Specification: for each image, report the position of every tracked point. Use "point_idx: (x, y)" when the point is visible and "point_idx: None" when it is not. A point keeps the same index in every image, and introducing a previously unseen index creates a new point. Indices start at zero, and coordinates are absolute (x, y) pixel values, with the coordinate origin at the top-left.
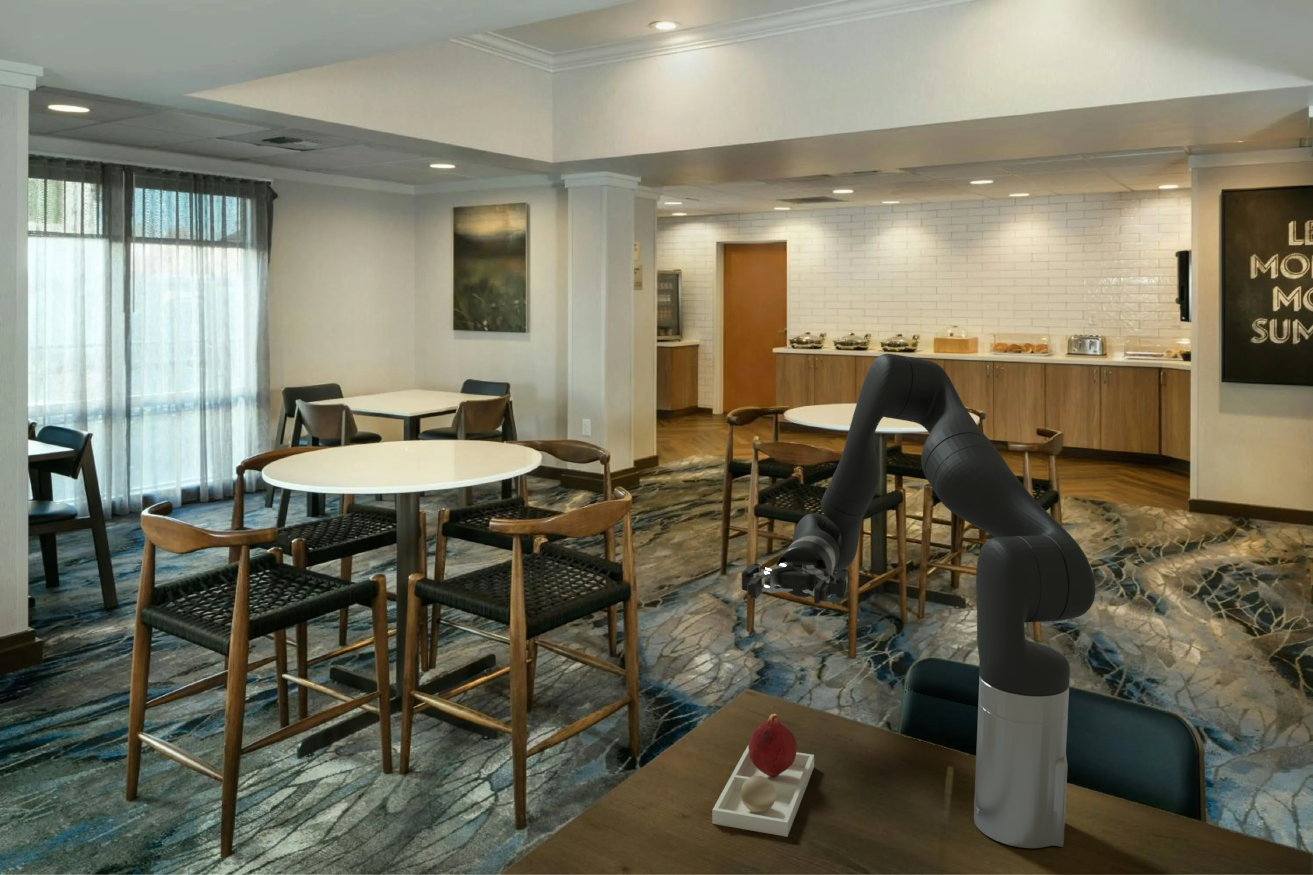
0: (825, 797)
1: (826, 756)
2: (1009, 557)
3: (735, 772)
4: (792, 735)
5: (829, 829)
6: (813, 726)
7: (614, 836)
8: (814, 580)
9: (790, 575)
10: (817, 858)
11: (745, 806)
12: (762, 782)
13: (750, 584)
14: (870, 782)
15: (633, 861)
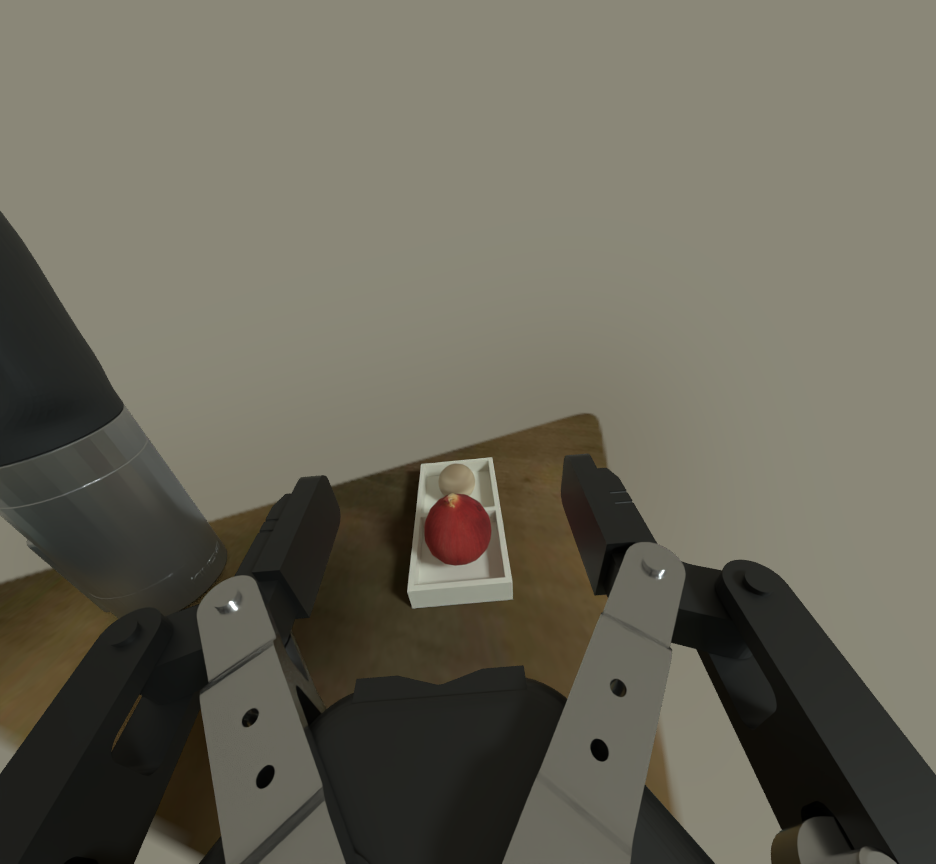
0: (393, 556)
1: (395, 674)
2: None
3: (498, 513)
4: (427, 522)
5: (387, 507)
6: None
7: (564, 443)
8: (298, 677)
9: (466, 675)
10: (397, 472)
11: (473, 496)
12: (449, 466)
13: (600, 474)
14: (331, 613)
15: (531, 430)
